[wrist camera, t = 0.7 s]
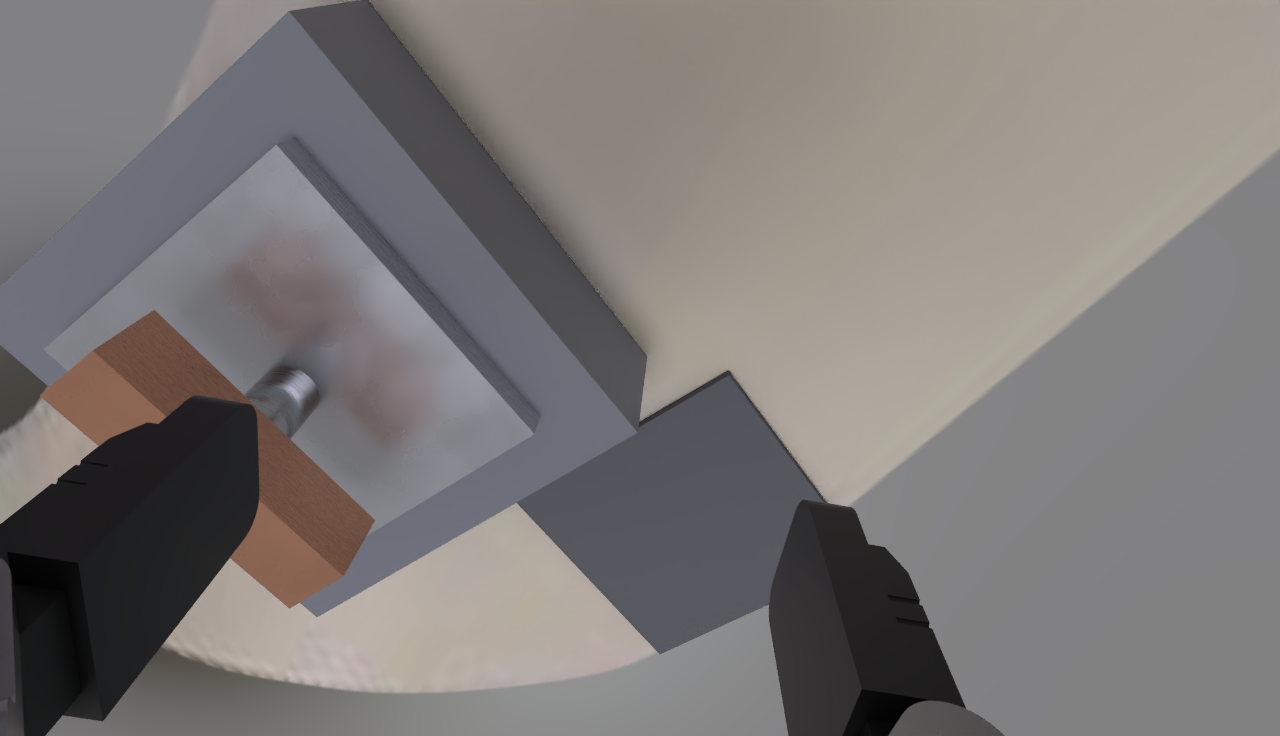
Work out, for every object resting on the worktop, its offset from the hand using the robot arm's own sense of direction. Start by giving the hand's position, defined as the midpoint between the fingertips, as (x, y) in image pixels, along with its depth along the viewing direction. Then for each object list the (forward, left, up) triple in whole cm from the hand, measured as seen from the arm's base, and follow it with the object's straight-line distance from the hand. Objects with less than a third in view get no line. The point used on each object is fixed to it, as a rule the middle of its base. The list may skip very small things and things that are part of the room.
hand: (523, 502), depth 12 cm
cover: (+13, -2, -17) cm, 21 cm away
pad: (+8, +15, -21) cm, 27 cm away
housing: (+13, -2, -21) cm, 24 cm away
